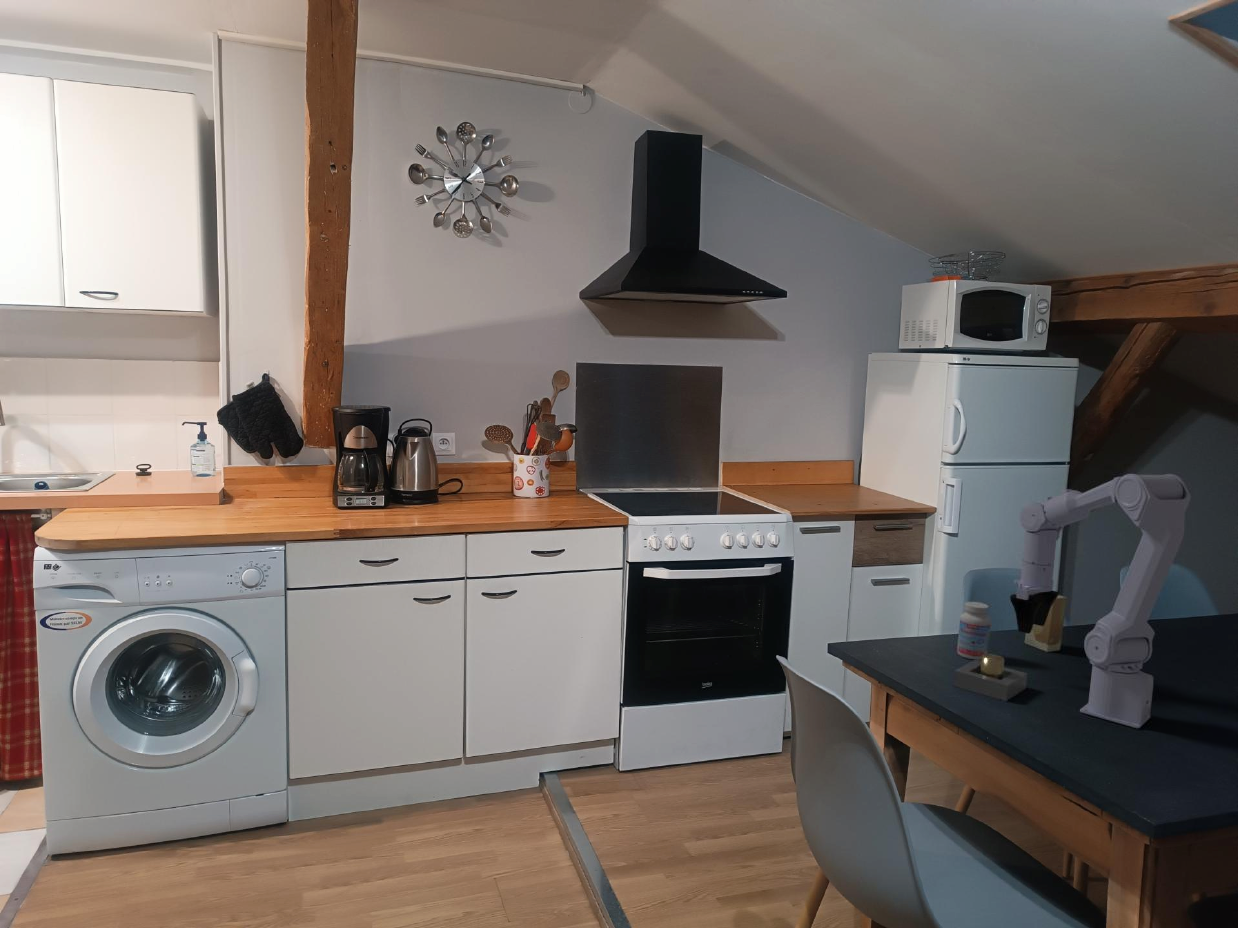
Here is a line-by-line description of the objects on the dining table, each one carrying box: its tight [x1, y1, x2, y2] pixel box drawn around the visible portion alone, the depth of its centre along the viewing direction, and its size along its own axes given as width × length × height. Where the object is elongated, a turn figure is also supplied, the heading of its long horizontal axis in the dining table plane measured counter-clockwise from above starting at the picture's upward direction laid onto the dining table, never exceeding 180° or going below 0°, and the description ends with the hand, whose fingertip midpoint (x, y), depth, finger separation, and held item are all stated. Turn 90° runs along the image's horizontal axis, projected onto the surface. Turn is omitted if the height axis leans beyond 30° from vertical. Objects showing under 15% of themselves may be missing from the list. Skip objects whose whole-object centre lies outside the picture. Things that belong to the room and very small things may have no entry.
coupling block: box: [952, 659, 1028, 702], centre depth 167 cm, size 10×10×3 cm
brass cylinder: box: [980, 653, 1005, 680], centre depth 167 cm, size 4×4×6 cm
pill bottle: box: [956, 601, 992, 661], centre depth 185 cm, size 6×6×11 cm
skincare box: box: [1024, 594, 1068, 653], centre depth 193 cm, size 6×4×12 cm
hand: (1031, 628), depth 175 cm, fingers open, 7 cm apart
